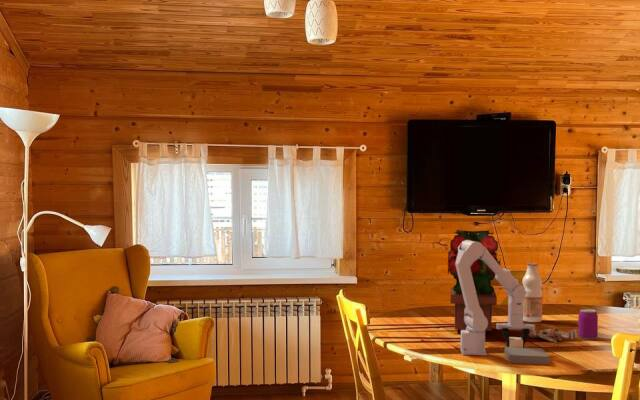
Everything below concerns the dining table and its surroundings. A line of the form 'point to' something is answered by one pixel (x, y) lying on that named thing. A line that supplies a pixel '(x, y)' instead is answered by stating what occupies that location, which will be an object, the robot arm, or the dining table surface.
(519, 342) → the cube
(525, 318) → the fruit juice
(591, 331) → the beverage can
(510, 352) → the plinth
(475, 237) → the potted plant
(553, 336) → the figurine
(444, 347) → the dining table surface
